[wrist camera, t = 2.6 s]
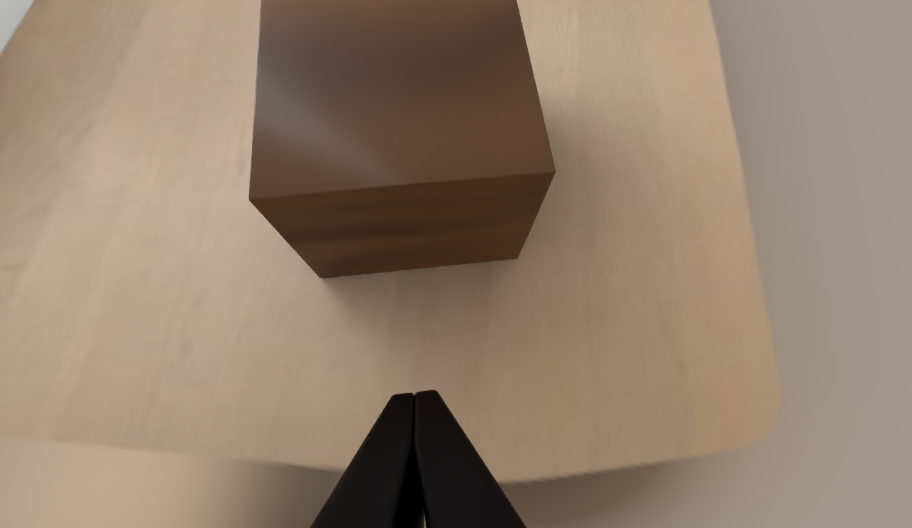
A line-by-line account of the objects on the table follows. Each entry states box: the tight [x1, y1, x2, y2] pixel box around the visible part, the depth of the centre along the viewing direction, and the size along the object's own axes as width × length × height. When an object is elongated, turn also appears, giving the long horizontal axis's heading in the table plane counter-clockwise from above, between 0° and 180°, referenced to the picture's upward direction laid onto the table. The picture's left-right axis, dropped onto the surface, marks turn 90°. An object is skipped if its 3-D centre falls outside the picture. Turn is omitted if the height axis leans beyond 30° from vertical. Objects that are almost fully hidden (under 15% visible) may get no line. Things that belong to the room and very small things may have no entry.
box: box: [249, 0, 556, 278], centre depth 19 cm, size 11×10×8 cm
